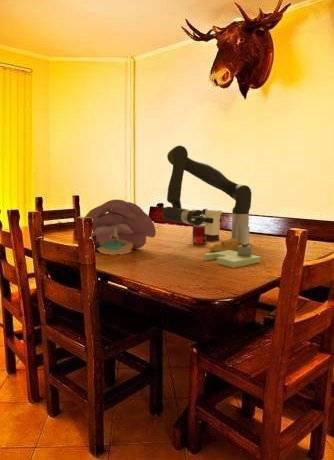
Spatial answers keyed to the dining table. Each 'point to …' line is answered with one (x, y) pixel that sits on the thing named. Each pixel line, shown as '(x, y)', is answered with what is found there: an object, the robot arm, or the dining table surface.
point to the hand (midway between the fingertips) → (216, 220)
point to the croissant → (226, 245)
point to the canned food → (199, 235)
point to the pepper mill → (210, 237)
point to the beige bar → (215, 226)
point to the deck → (234, 257)
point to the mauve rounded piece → (120, 227)
